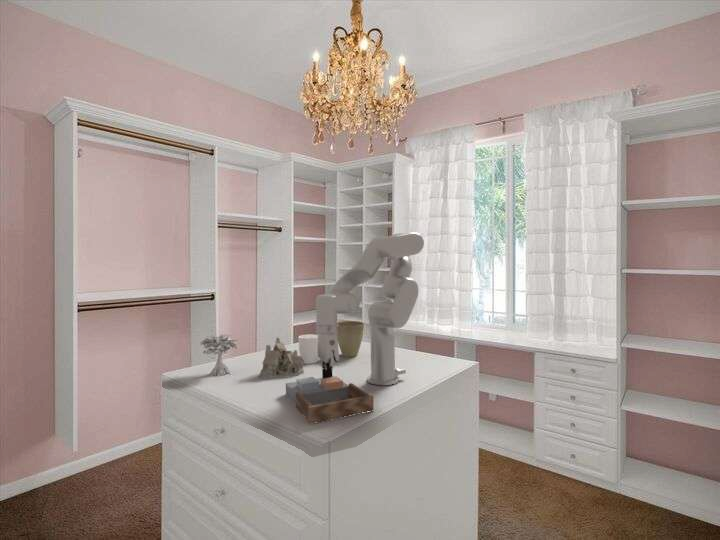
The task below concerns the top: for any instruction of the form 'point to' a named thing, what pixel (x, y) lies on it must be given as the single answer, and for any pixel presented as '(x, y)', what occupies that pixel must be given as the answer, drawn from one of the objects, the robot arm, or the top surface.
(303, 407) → the box
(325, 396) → the grey flat block
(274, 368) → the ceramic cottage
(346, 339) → the plant pot
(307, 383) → the blue-grey tile
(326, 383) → the terracotta tile
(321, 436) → the top surface
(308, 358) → the candle holder
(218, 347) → the tree
